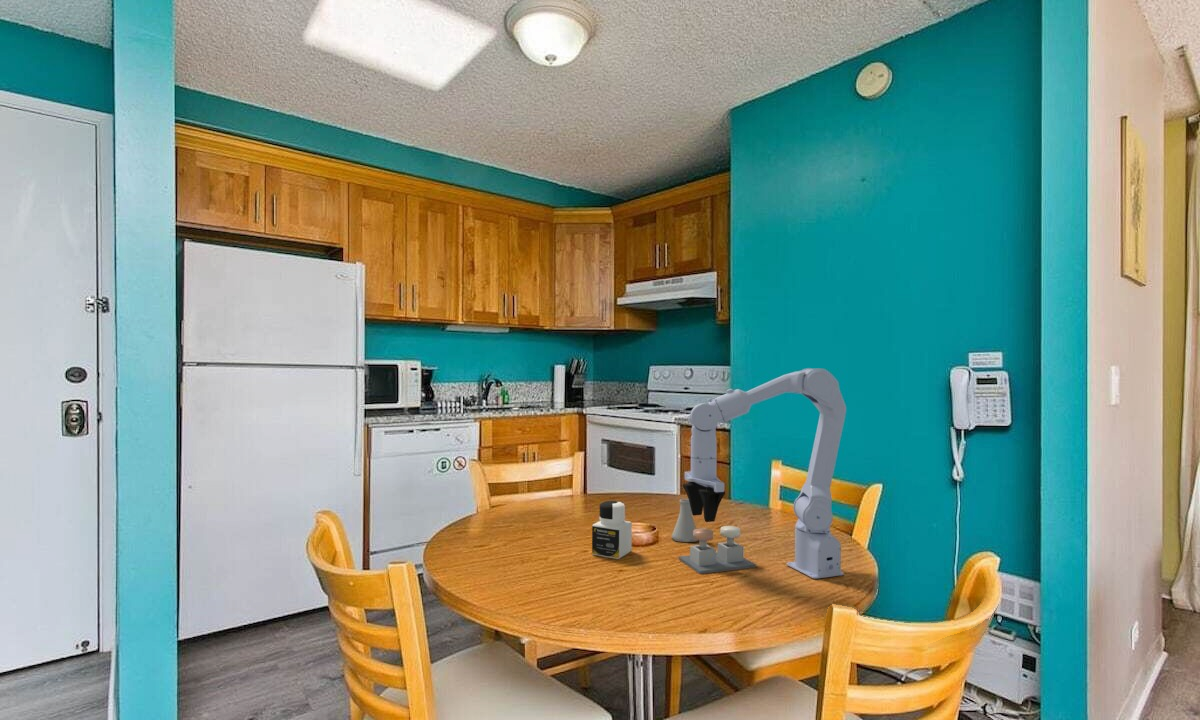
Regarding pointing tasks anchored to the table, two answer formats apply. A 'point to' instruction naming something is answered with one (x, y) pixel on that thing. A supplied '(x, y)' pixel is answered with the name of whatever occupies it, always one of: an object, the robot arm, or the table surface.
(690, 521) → the flask
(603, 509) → the medicine bottle
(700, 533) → the terracotta knob
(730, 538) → the cream knob
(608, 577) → the table surface
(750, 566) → the knob mount
